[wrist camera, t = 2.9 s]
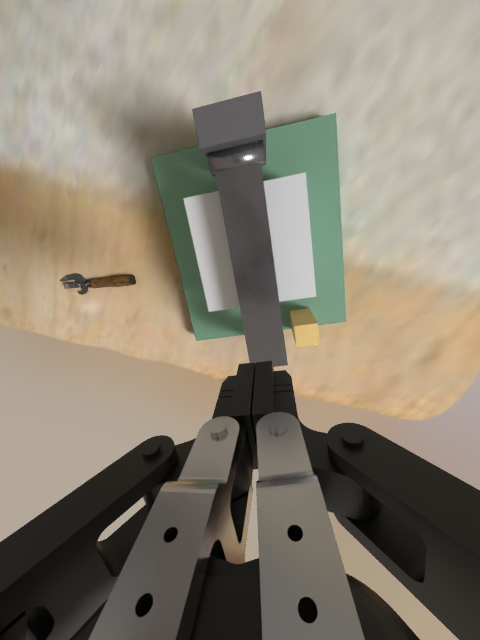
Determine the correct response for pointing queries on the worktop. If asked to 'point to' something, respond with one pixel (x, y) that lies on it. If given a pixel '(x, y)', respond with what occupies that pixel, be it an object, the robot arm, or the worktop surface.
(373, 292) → the worktop surface
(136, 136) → the worktop surface
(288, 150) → the cpu board
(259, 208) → the strap
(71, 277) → the can opener
